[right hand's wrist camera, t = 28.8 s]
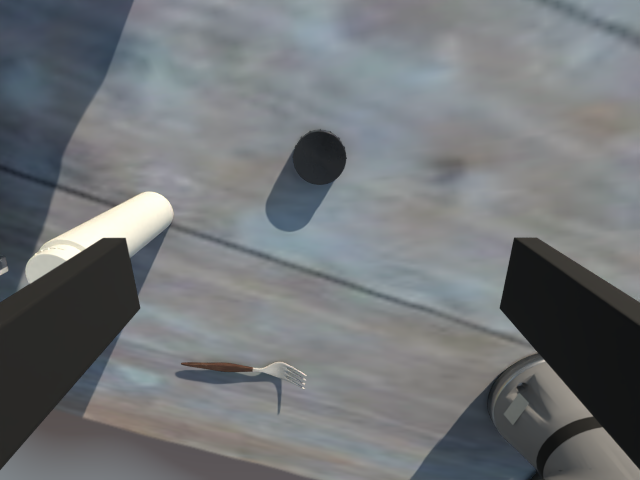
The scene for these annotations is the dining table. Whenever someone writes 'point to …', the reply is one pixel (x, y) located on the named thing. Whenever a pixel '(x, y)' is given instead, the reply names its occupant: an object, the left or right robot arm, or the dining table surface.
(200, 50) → the dining table surface
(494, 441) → the dining table surface
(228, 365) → the fork
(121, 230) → the white cylinder
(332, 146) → the lid
